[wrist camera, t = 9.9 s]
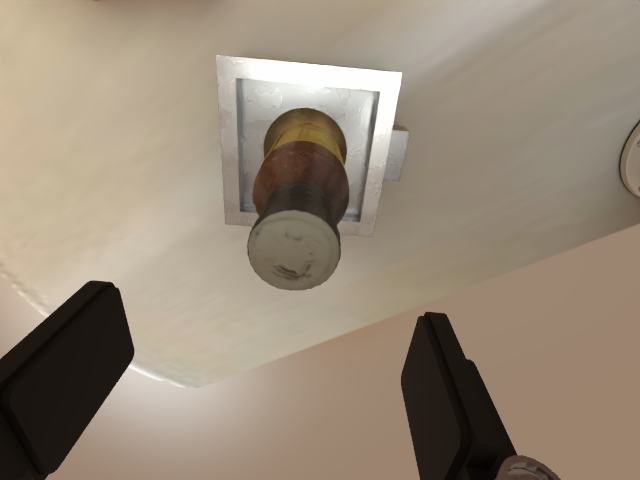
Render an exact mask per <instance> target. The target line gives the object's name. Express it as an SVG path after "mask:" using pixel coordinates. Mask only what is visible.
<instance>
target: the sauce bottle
mask: <svg viewBox="0 0 640 480" xmlns="http://www.w3.org/2000/svg"><path fill="white" fill-rule="evenodd" d="M349 195H350V188H349V182H348V177H347V174H346V171H345V168H344V164H343V161H342V157H341V154H340V150H339V147H338V145H337V143H336V141H335V139H334V138H333V136H332V135H331V134H330V133H329V132H328V131H327V130H325V129H324V128H322V127H320V126H317V125H314V124H310V123H304V124H298V125H295V126H292V127H290V128H288V129H287V130H285V131H284V132H283V134H281V135H280V136H279V137H278V139H277V140H276V142H275V143H274V145H273V146H272V148H271V150H270V151H269V153H268V154H267V156H266V158H265V159H264V161H263V162H262V164H261V166H260V169H259V172H258V174H257V176H256V178H255V182H254V185H253V195H252V199H253V204H254V205H255V207H256V212H257V214H258V215H259V217H258V219H257V220H256V222H255V224H254V226H253V228H252V230H251V232H250V236H249V239H248V245H247V247H248V256H249V260H250V264H251V266H252V267H253V269H254V271H255V272H256V273H257V274H258V275H259V276H260V277H261V279H262V280H264V281H265V282H267V283H268V284H270V285H272V286H274V287H276V288H279V289H285V290H305V289H311V288H313V287H315V286H318V285H321V284H322V283H323V282H325V281H326V280H327V279H328V278H329V277H330V276H331V275H332V274H333V273H334V271H335V269H336V267H337V264H338V262H339V260H340V255H341V249H340V244H341V243H340V234H339V231H338V228H337V225H338V224H339V222H340V221H341V220H342V218H343V217H344V215H345V213H346V210H347V207H348V203H349Z"/></svg>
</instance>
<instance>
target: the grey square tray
mask: <svg viewBox="0 0 640 480" xmlns="http://www.w3.org/2000/svg"><path fill="white" fill-rule="evenodd" d="M216 64H217V82H218V100H219V118H220V136H221V154H222V172H223V190H224V208H225V224H228V225H240V226H252V227H253V226H254V224H255V222H256V220H257V219H258V217H259V215H258V214H257V212H256V207H255V205H254V204H253V199H252V195H253V185H254V182H255V178H256V176H257V174H258V172H259V169H260V166H261V164H262V162H263V161H264V159H265V158H266V156H267V154H268V153H269V151H270V150H271V148H272V146H273V145H274V143H275V142H276V140H277V139H278V137H279V136H280V135H281V134H283V132H284V131H285V130H287V129H288V128H290V127H292V126H295V125H298V124H304V123H310V124H314V125H317V126H320V127H322V128H324V129H325V130H327V131H328V132H329V133H330V134H331V135H332V136H333V138H334V139H335V141H336V143H337V145H338V147H339V150H340V154H341V157H342V161H343V164H344V168H345V171H346V174H347V177H348V182H349V188H350V195H349V203H348V207H347V210H346V213H345V215H344V217H343V218H342V220H341V221H340V222H339V224H338V225H337V228H338V231H339V234H344V235H355V236H367V237H373V232H374V227H375V221H376V216H377V210H378V205H379V199H380V193H381V188H382V182H383V180H392V181H399V180H400V175H401V170H402V165H403V160H404V155H405V151H406V146H407V141H408V136H409V131H408V130H407V129H406V128H404V127H403V126H393V121H394V116H395V110H396V105H397V99H398V94H399V88H400V82H401V77H402V73H399V72H391V71H382V70H372V69H361V68H351V67H341V66H330V65H320V64H309V63H299V62H288V61H278V60H267V59H257V58H247V57H235V56H221V55H216Z"/></svg>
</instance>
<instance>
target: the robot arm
mask: <svg viewBox="0 0 640 480" xmlns="http://www.w3.org/2000/svg"><path fill="white" fill-rule="evenodd" d="M620 167H621V176H622V179H623V183H624V184H625V186H626V187H627V188H628V190H629V191H631V192H632V193H633V194H634V195H637V196H639V197H640V123H639V124H638V126H637V127H636V128H635V130H634V131H633V132H632V134H631V136H630V138H629V140H628V141H627V143H626V145H625V148H624V151H623V154H622V158H621V164H620ZM133 356H134V346H133V342H132V338H131V334H130V330H129V326H128V322H127V318H126V314H125V310H124V306H123V302H122V298H121V294H120V291H119V289H118V288H116V287H115V286H114V284H113V283H111V282H103V281H89V282H87V283H86V284H85V285H84V286H83V287H82V288H80V289H79V290H78V291H77V292H76V293H75V294H74V295H72V296H71V297H70V298H69V299H68V300H67V301H66V302H65V303H63V304H62V305H61V306H60V307H59V308H58V309H57V310H55V311H54V312H53V313H52V314H51V315H50V316H49V317H48V318H46V319H45V320H44V321H43V322H42V323H41V324H40V325H38V327H36V328H35V329H34V330H33V331H32V332H31V333H29V334H28V335H27V336H26V337H25V338H24V339H23V340H22V341H20V342H19V343H18V344H17V345H16V346H15V347H14V348H12V349H11V350H10V351H9V352H8V353H7V354H6V355H4V356H3V357H2V358H1V359H0V480H45V479H46V477H47V476H48V475H49V474H51V473H53V472H55V471H56V470H57V469H58V468H59V466H60V465H61V463H62V462H63V461H64V459H65V458H66V456H67V454H68V453H69V452H70V450H71V449H72V447H73V446H74V445H75V443H76V442H77V440H78V439H79V437H80V436H81V434H82V433H83V431H84V430H85V428H86V427H87V425H88V424H89V423H90V421H91V420H92V418H93V417H94V415H95V414H96V412H97V411H98V409H99V408H100V406H101V405H102V404H103V402H104V401H105V399H106V398H107V396H108V395H109V393H110V392H111V391H112V389H113V387H114V386H115V385H116V383H117V382H118V380H119V379H120V377H121V376H122V374H123V373H124V372H125V370H126V369H127V367H128V366H129V364H130V363H131V361H132V359H133ZM401 386H402V392H403V397H404V402H405V407H406V411H407V416H408V422H409V427H410V432H411V436H412V441H413V446H414V451H415V456H416V461H417V466H418V470H419V476H420V480H561V479H560V478H559V477H558V476H557V475H556V474H555V473H554V472H553V471H552V470H550V469H549V468H548V467H547V466H545V465H544V464H542V463H540V462H539V461H537V460H535V459H533V458H530V457H527V456H523V455H517V453H516V451H515V449H514V447H513V445H512V443H511V440H510V438H509V436H508V434H507V432H506V430H505V428H504V425H503V423H502V421H501V419H500V417H499V415H498V412H497V410H496V408H495V406H494V404H493V402H492V399H491V397H490V395H489V393H488V391H487V389H486V387H485V384H484V382H483V380H482V378H481V376H480V374H479V371H478V370H477V367H476V366H475V364H474V362H472V361H471V360H468V359H466V358H465V355H464V353H463V351H462V349H461V346H460V344H459V342H458V340H457V338H456V335H455V333H454V331H453V328H452V326H451V324H450V321H449V319H448V317H447V315H446V314H444V313H434V312H426V313H425V314H424V316H420V317H418V320H417V323H416V327H415V330H414V334H413V337H412V341H411V344H410V347H409V351H408V354H407V357H406V361H405V364H404V368H403V371H402V376H401Z"/></svg>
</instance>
